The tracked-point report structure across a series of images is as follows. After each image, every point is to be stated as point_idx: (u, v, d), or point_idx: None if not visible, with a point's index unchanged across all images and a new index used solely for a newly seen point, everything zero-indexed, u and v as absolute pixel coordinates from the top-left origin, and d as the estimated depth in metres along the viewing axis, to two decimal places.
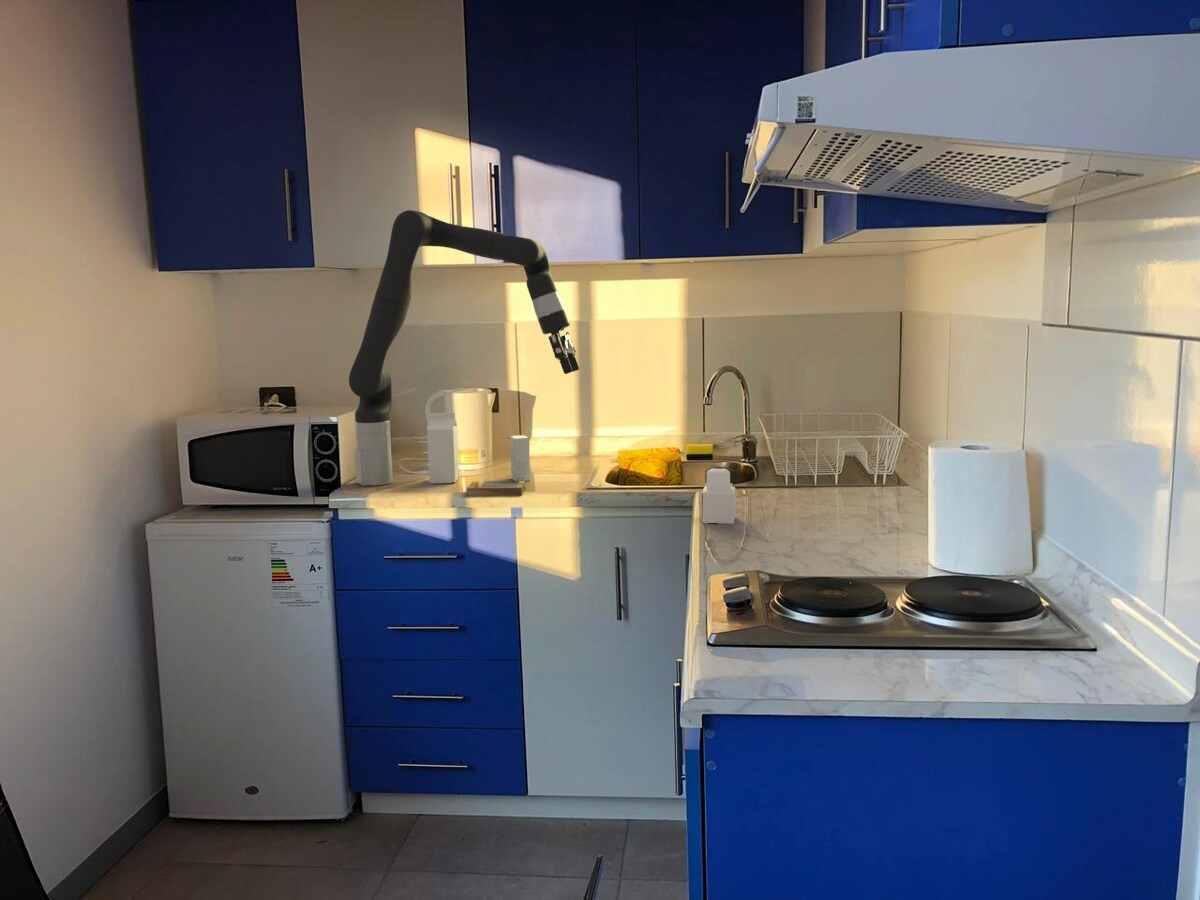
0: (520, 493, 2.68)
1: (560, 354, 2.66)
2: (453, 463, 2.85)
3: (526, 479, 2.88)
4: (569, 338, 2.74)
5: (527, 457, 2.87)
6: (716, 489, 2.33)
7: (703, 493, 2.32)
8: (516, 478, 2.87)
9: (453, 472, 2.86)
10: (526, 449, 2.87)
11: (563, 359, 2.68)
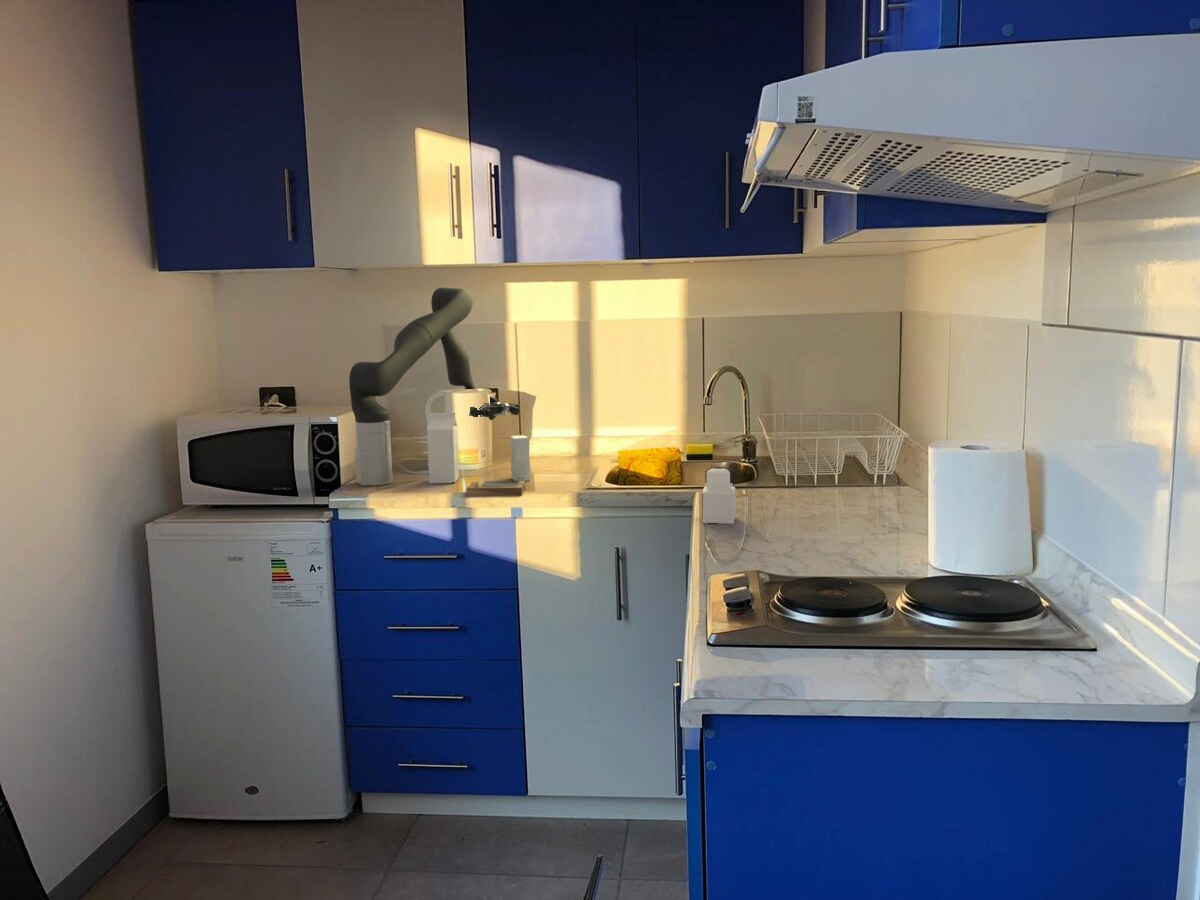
0: (520, 493, 2.68)
1: None
2: (453, 463, 2.85)
3: (526, 479, 2.88)
4: None
5: (527, 457, 2.87)
6: (716, 489, 2.33)
7: (703, 493, 2.32)
8: (516, 478, 2.87)
9: (453, 472, 2.86)
10: (526, 449, 2.87)
11: None
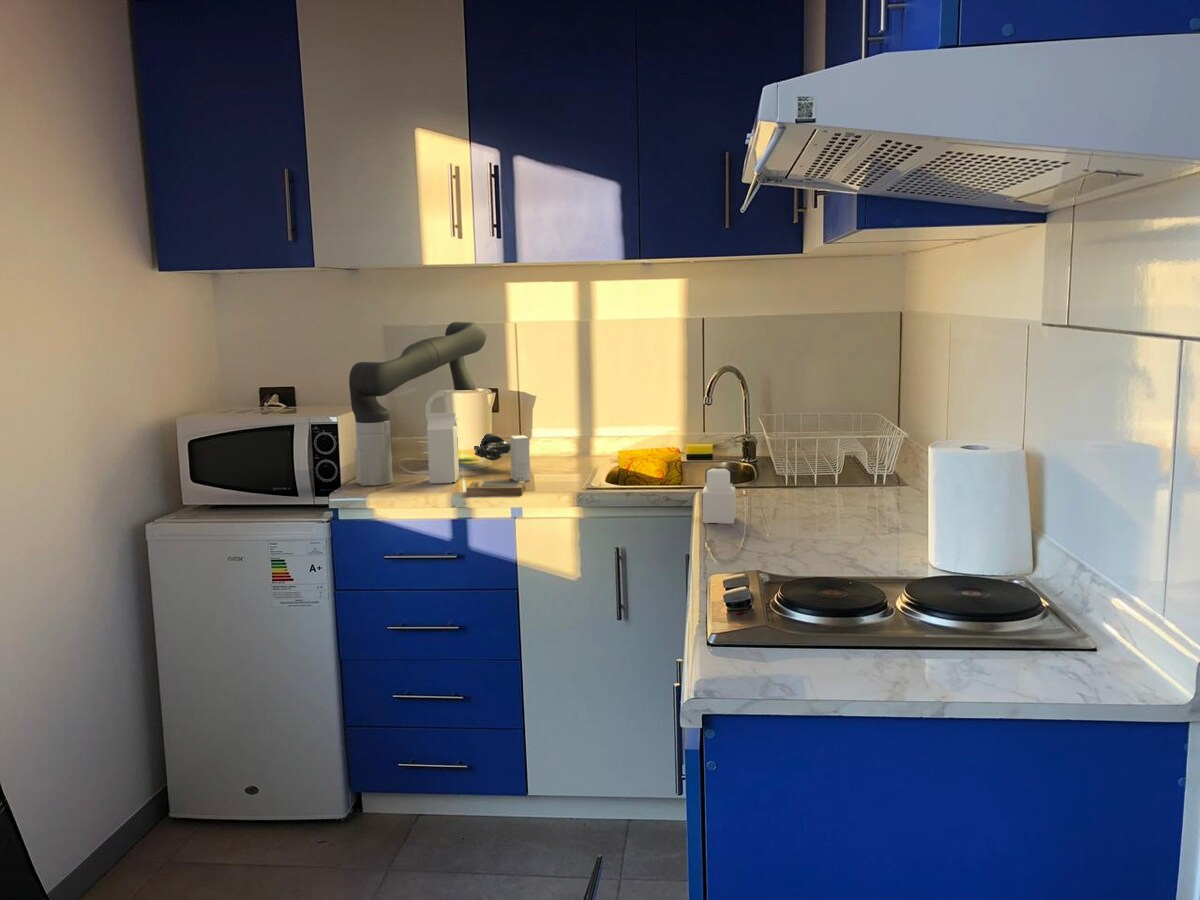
0: (520, 493, 2.68)
1: None
2: (453, 463, 2.85)
3: (526, 479, 2.88)
4: None
5: (527, 457, 2.87)
6: (716, 489, 2.33)
7: (703, 493, 2.32)
8: (516, 478, 2.87)
9: (453, 472, 2.86)
10: (526, 449, 2.87)
11: None
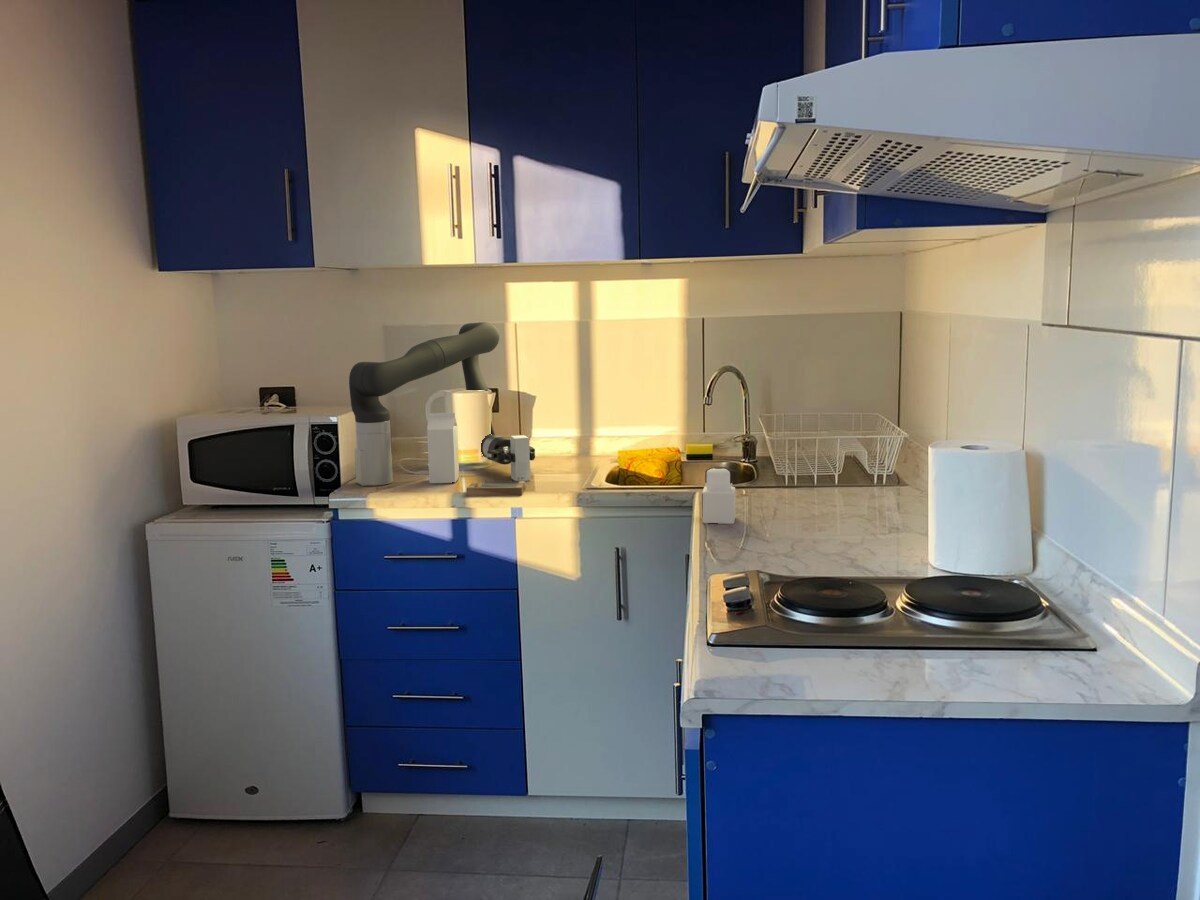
0: (520, 493, 2.68)
1: None
2: (453, 463, 2.85)
3: (526, 479, 2.88)
4: None
5: (527, 457, 2.87)
6: (716, 489, 2.33)
7: (703, 493, 2.32)
8: (516, 478, 2.87)
9: (453, 472, 2.86)
10: (526, 449, 2.87)
11: None
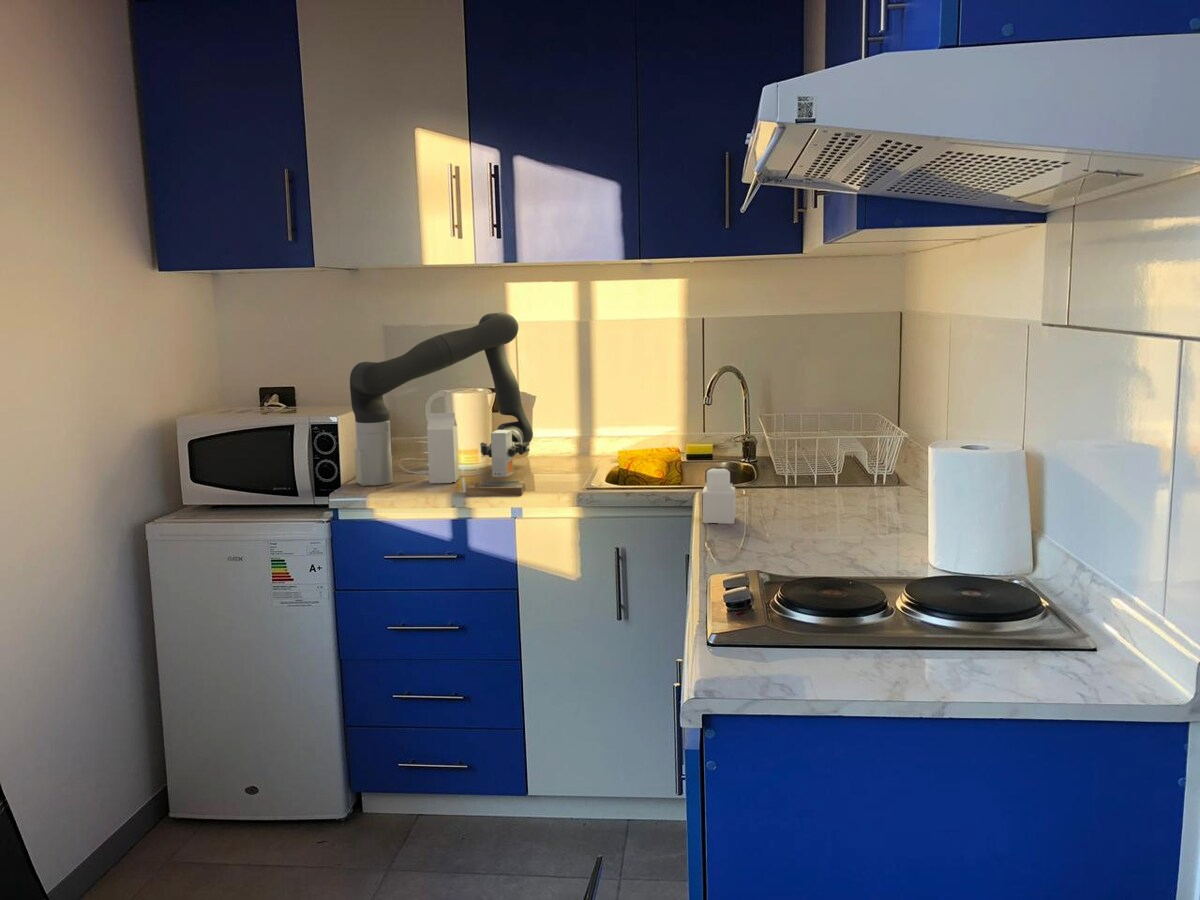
0: (520, 493, 2.68)
1: (522, 450, 2.84)
2: (453, 463, 2.85)
3: (503, 475, 2.80)
4: None
5: (503, 452, 2.79)
6: (716, 489, 2.33)
7: (703, 493, 2.32)
8: (493, 473, 2.81)
9: (453, 472, 2.86)
10: (503, 445, 2.79)
11: (515, 451, 2.83)
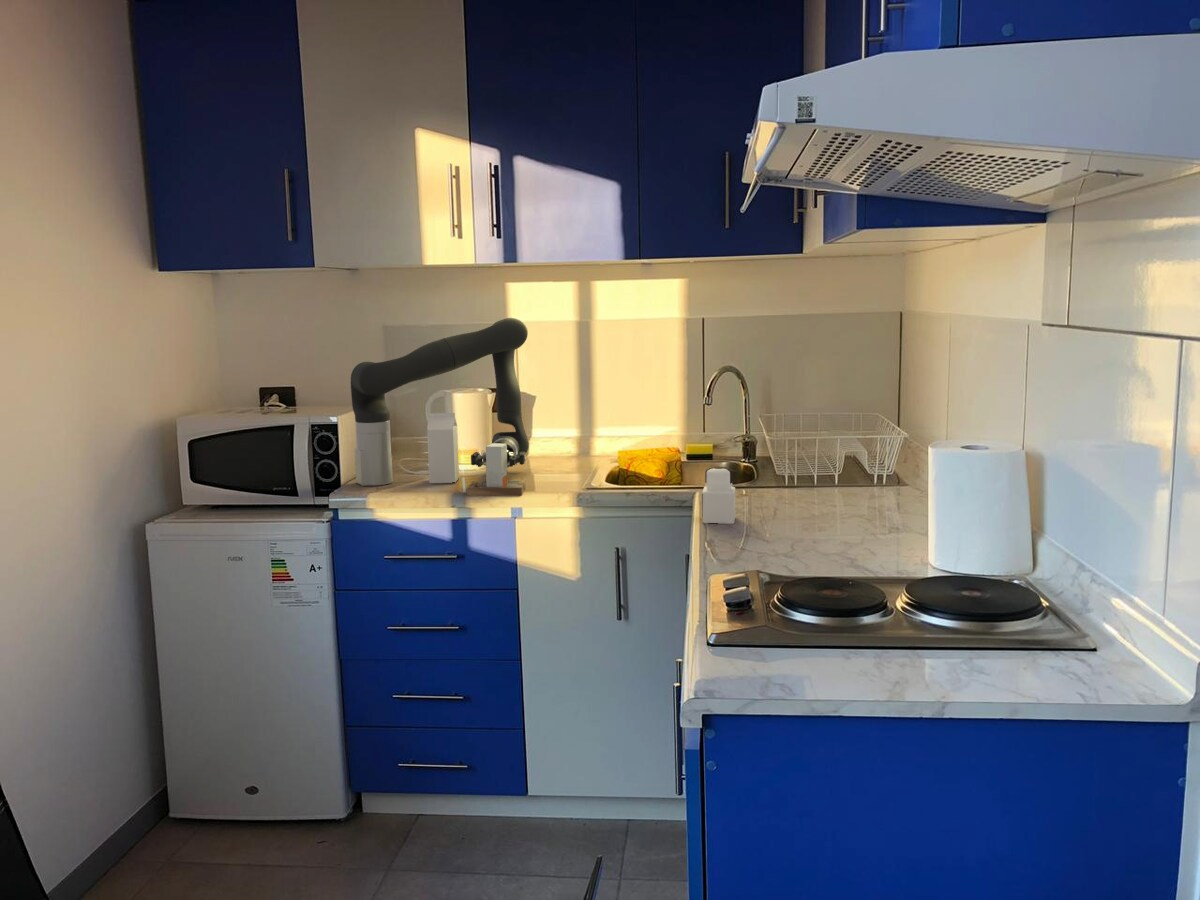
0: (520, 493, 2.68)
1: (523, 460, 2.75)
2: (453, 463, 2.85)
3: None
4: None
5: (498, 467, 2.69)
6: (716, 489, 2.33)
7: (703, 493, 2.32)
8: None
9: (453, 472, 2.86)
10: (498, 459, 2.69)
11: (516, 461, 2.74)
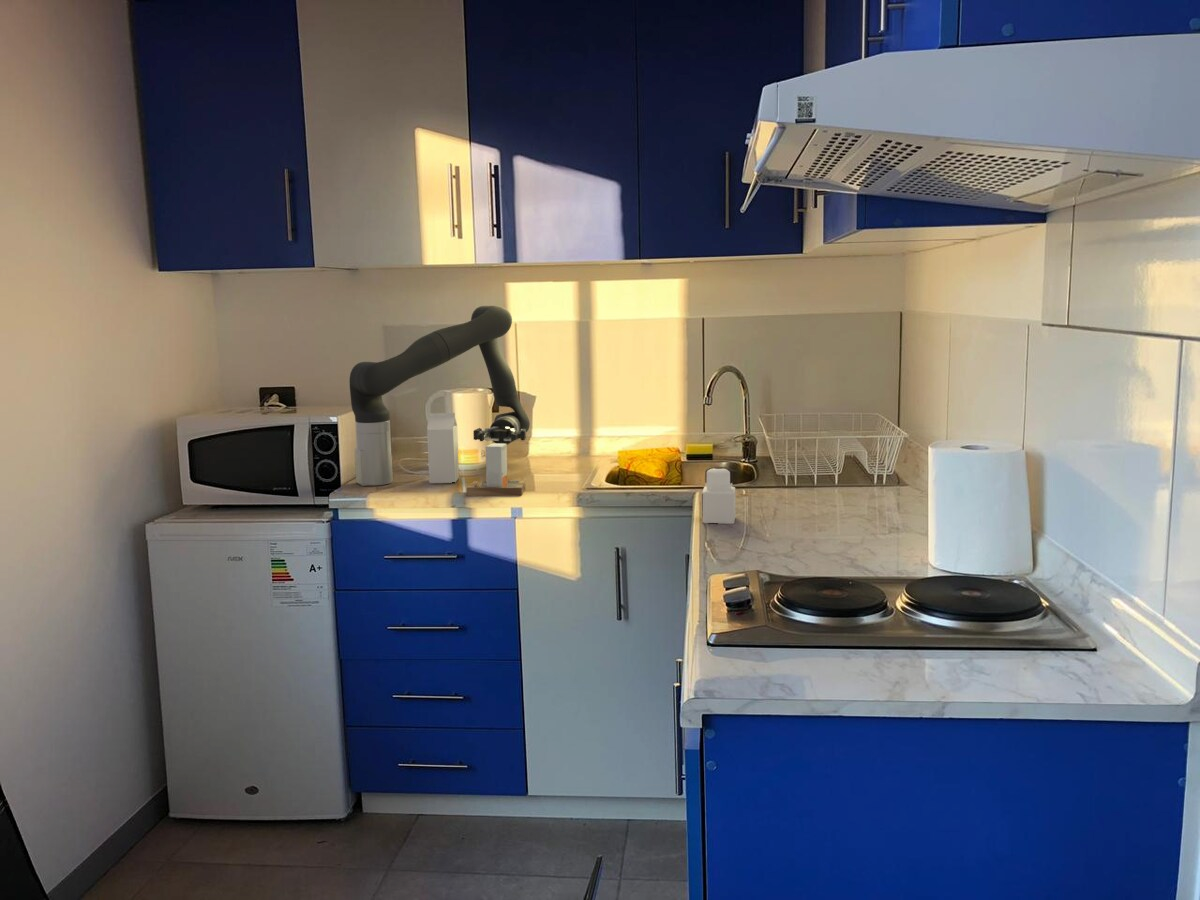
0: (520, 493, 2.68)
1: (524, 436, 2.89)
2: (453, 463, 2.85)
3: None
4: (494, 440, 2.93)
5: (498, 467, 2.69)
6: (716, 489, 2.33)
7: (703, 493, 2.32)
8: None
9: (453, 472, 2.86)
10: (498, 459, 2.69)
11: (518, 436, 2.87)
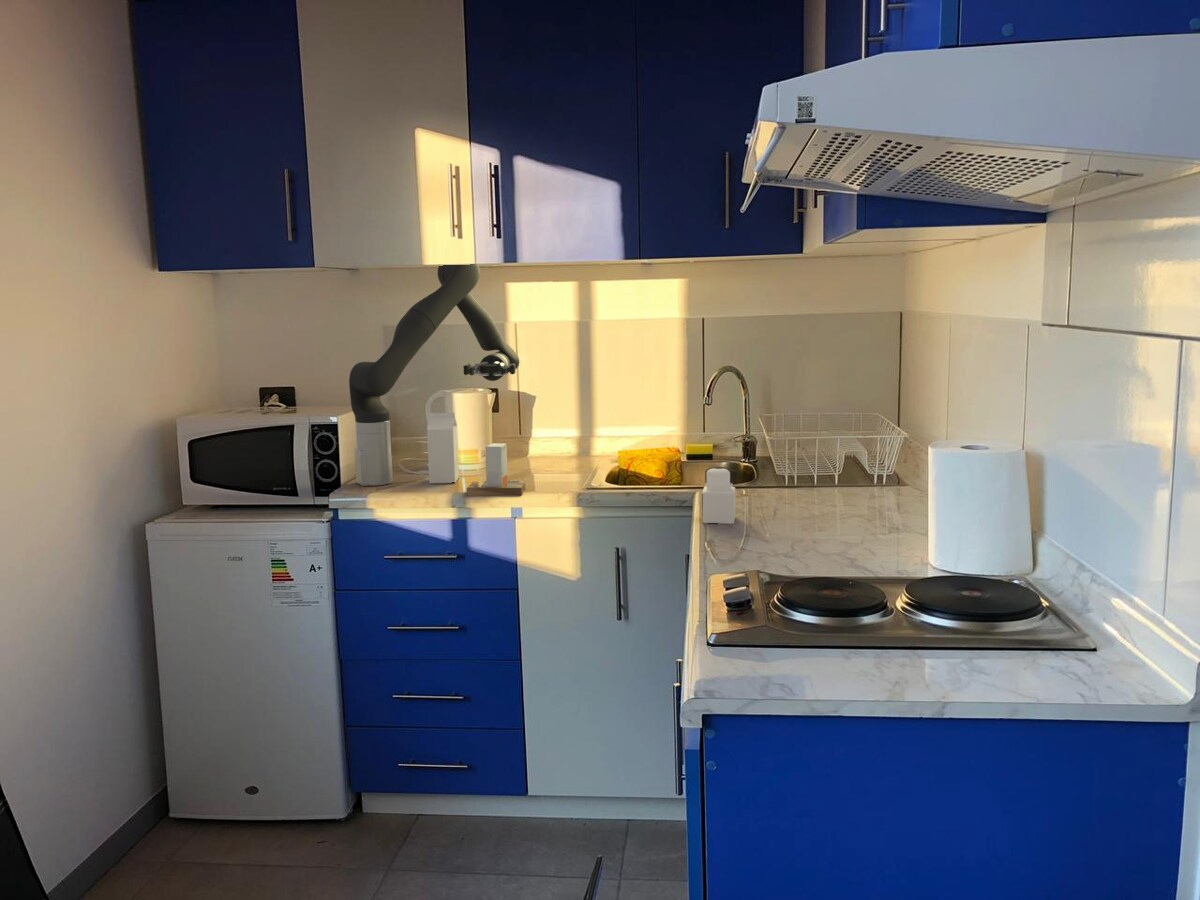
0: (520, 493, 2.68)
1: (514, 370, 2.92)
2: (453, 463, 2.85)
3: None
4: (484, 375, 2.96)
5: (498, 467, 2.69)
6: (716, 489, 2.33)
7: (703, 493, 2.32)
8: None
9: (453, 472, 2.86)
10: (498, 459, 2.69)
11: (507, 370, 2.91)
